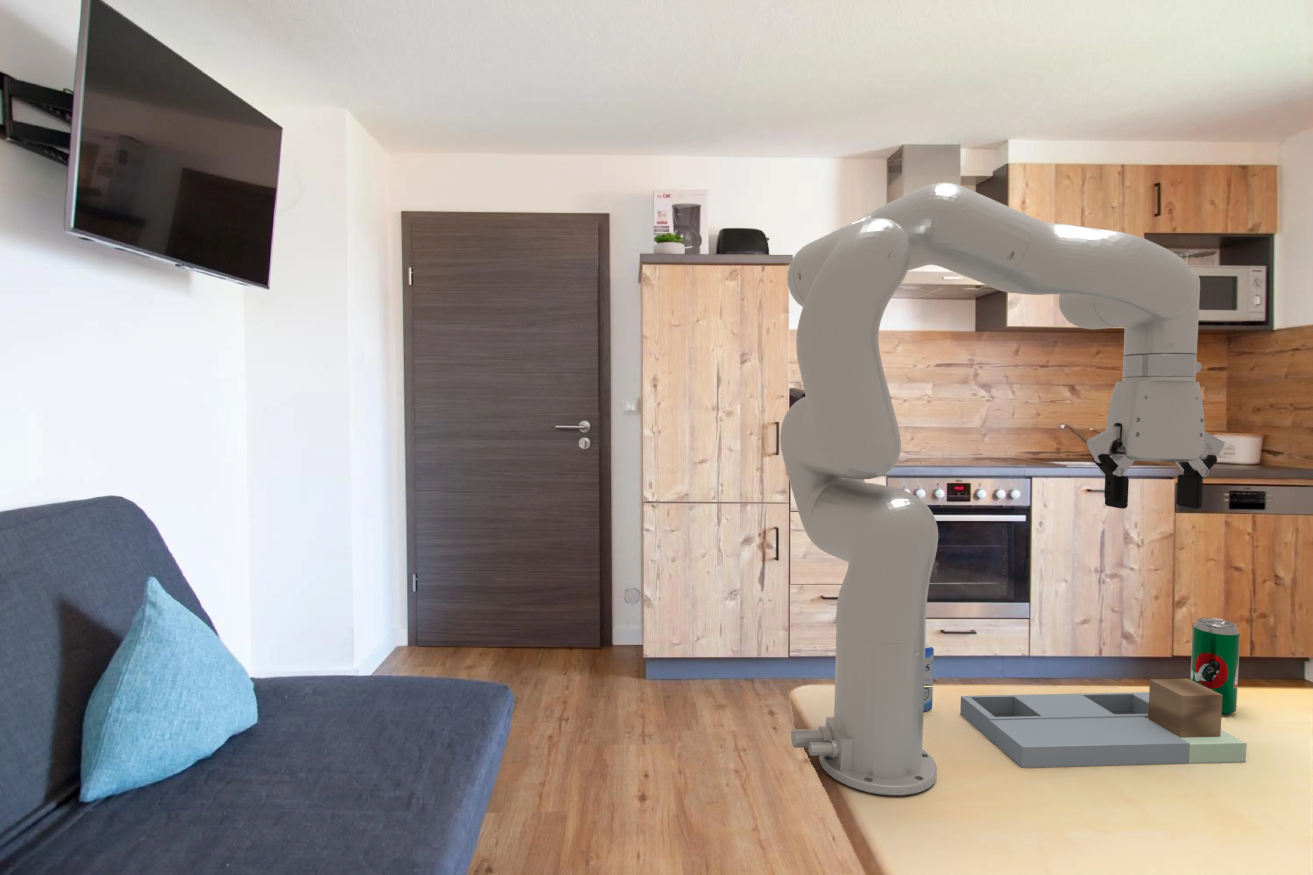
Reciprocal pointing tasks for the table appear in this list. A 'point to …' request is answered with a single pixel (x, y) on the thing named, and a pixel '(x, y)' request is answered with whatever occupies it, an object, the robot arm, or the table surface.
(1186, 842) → the table surface
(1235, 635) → the soda can
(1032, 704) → the box
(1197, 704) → the block
